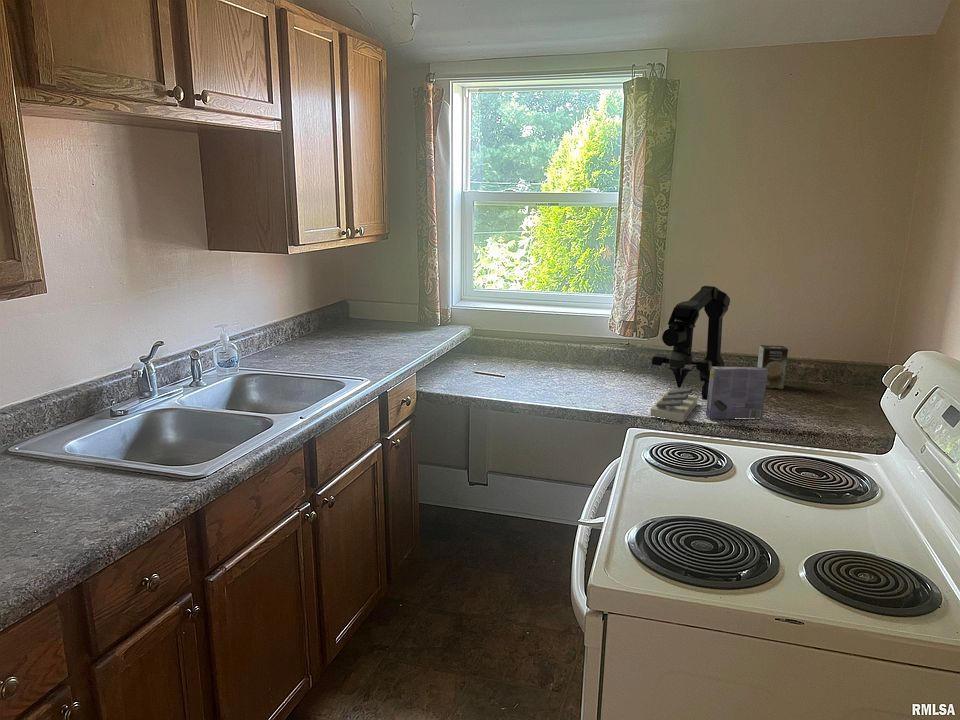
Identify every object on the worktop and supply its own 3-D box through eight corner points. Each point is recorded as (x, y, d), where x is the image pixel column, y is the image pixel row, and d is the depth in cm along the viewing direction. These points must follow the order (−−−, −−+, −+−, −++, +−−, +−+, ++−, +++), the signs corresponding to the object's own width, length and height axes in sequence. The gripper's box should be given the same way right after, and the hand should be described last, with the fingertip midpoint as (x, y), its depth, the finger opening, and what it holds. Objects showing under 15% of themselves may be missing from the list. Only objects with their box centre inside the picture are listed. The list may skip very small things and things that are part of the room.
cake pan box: (759, 415, 236) (765, 365, 232) (766, 420, 231) (771, 369, 227) (704, 415, 236) (709, 365, 231) (709, 420, 231) (714, 369, 226)
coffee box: (759, 388, 268) (763, 348, 264) (754, 383, 275) (758, 344, 271) (783, 389, 267) (788, 349, 264) (778, 384, 274) (783, 345, 270)
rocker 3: (683, 403, 233) (682, 400, 233) (680, 406, 229) (680, 403, 229) (659, 404, 237) (659, 401, 237) (656, 407, 233) (656, 404, 233)
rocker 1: (692, 390, 246) (692, 387, 246) (690, 393, 243) (689, 390, 243) (670, 393, 250) (669, 390, 250) (667, 395, 247) (667, 393, 247)
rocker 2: (688, 396, 240) (687, 394, 239) (685, 399, 236) (685, 397, 236) (665, 398, 244) (664, 395, 243) (662, 401, 240) (662, 398, 240)
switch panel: (696, 404, 248) (697, 392, 247) (683, 422, 228) (684, 409, 227) (666, 399, 253) (667, 388, 252) (650, 417, 233) (651, 404, 232)
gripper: (648, 343, 225) (645, 388, 229) (707, 349, 216) (702, 397, 220) (657, 337, 235) (654, 381, 238) (714, 343, 226) (709, 389, 229)
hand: (679, 387), depth 231 cm, fingers closed
